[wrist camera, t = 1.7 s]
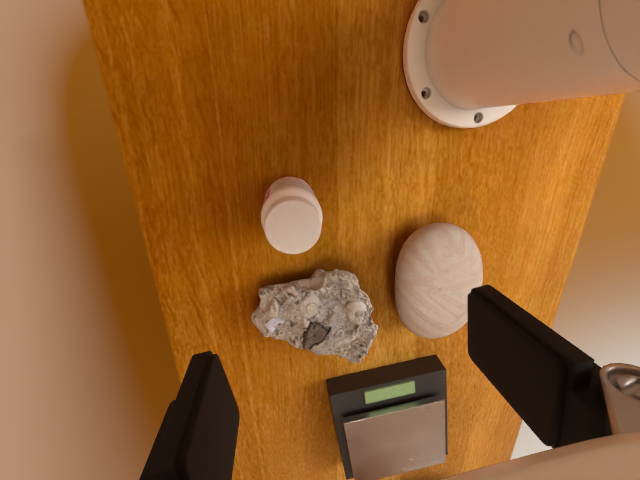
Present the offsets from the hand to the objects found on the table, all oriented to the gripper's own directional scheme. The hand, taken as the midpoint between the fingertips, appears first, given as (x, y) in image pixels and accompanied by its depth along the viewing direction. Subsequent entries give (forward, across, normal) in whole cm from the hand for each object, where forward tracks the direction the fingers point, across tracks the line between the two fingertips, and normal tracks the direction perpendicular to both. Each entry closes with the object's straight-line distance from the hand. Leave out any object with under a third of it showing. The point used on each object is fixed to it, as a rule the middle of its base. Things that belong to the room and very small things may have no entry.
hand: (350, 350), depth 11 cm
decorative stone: (+20, -12, +9) cm, 25 cm away
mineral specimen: (+20, +1, +10) cm, 22 cm away
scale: (+20, -5, +28) cm, 35 cm away
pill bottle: (+20, +1, -2) cm, 20 cm away
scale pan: (+17, -5, +30) cm, 34 cm away
